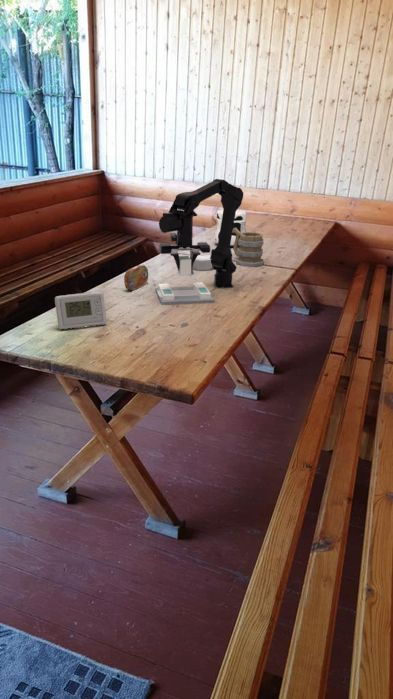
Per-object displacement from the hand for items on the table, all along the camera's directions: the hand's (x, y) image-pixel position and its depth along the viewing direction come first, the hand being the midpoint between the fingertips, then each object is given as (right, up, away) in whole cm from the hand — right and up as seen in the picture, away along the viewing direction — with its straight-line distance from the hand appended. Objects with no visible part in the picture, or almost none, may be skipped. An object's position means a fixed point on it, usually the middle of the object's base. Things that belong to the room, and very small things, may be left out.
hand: (184, 270), depth 209 cm
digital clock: (-33, -23, -27) cm, 49 cm away
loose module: (0, -1, 0) cm, 1 cm away
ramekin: (+7, +7, +43) cm, 44 cm away
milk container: (+23, +26, +87) cm, 94 cm away
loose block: (0, +4, +34) cm, 34 cm away
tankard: (+28, +12, +56) cm, 63 cm away
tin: (-20, -5, +13) cm, 24 cm away
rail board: (0, -9, +4) cm, 10 cm away
